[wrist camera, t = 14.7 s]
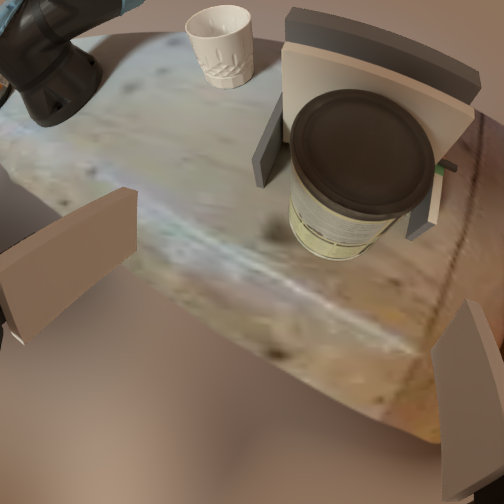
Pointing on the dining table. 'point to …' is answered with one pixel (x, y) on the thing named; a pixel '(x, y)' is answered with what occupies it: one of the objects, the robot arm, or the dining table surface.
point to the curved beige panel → (373, 80)
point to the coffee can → (354, 171)
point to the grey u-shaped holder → (381, 54)
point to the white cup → (223, 44)
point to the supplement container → (4, 89)
